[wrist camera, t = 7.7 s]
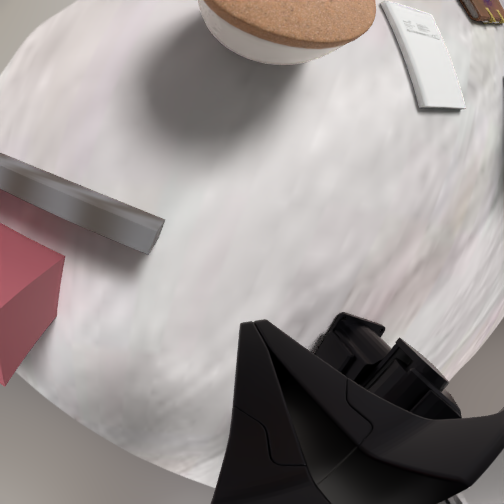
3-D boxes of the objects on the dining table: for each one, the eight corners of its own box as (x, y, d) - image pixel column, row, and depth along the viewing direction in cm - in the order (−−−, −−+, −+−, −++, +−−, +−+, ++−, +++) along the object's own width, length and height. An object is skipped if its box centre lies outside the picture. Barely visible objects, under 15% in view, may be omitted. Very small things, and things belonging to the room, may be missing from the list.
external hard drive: (415, 108, 20) (377, 4, 16) (457, 109, 21) (425, 18, 17) (426, 106, 19) (385, -1, 15) (467, 108, 20) (434, 14, 16)
